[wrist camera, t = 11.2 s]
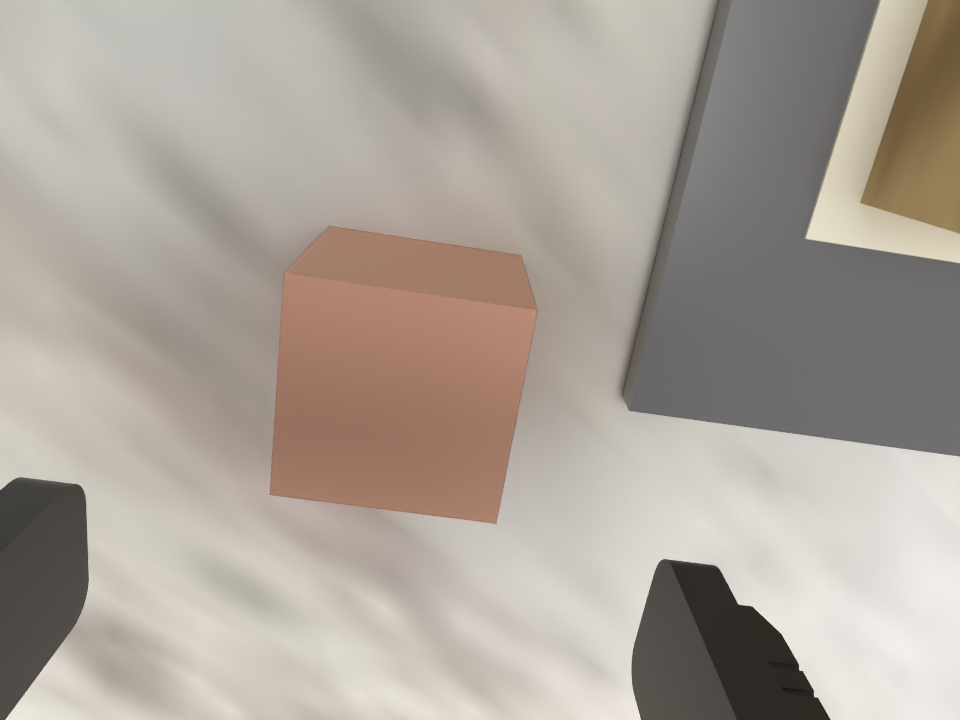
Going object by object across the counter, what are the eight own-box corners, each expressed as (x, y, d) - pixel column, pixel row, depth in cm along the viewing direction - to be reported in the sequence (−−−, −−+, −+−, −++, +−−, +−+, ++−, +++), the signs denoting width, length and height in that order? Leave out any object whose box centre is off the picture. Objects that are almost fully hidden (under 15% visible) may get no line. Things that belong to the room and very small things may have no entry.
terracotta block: (330, 225, 19) (283, 272, 14) (521, 254, 19) (537, 310, 14) (314, 401, 21) (269, 494, 16) (490, 424, 21) (496, 523, 16)
